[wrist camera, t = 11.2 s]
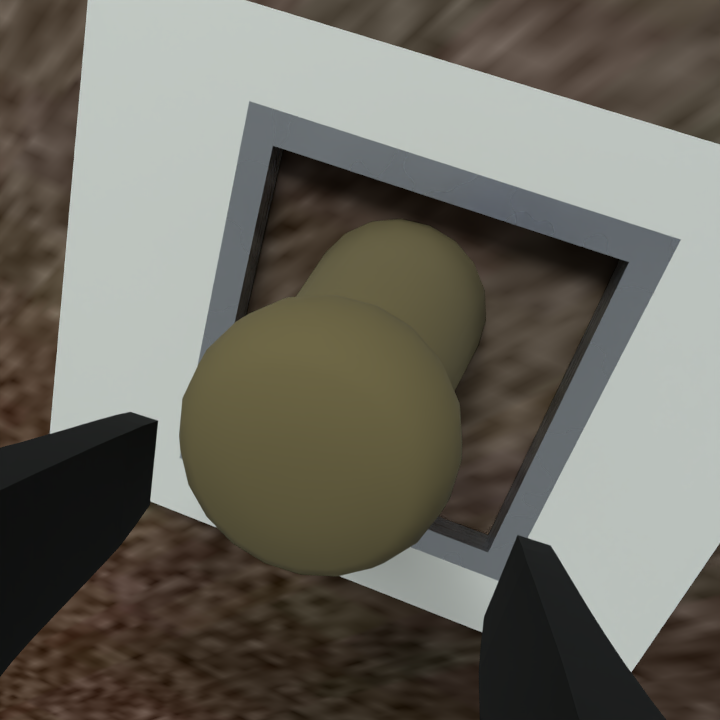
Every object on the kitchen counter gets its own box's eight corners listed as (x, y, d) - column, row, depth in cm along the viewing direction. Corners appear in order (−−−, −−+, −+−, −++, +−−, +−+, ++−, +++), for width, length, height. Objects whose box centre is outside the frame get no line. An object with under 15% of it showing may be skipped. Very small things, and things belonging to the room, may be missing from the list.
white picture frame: (917, 209, 15) (945, 213, 14) (615, 665, 22) (621, 687, 21) (112, -36, 17) (92, -47, 16) (64, 449, 24) (47, 460, 23)
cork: (405, 425, 20) (327, 688, 10) (276, 317, 20) (63, 480, 10) (526, 302, 18) (578, 487, 8) (382, 178, 18) (245, 207, 8)
